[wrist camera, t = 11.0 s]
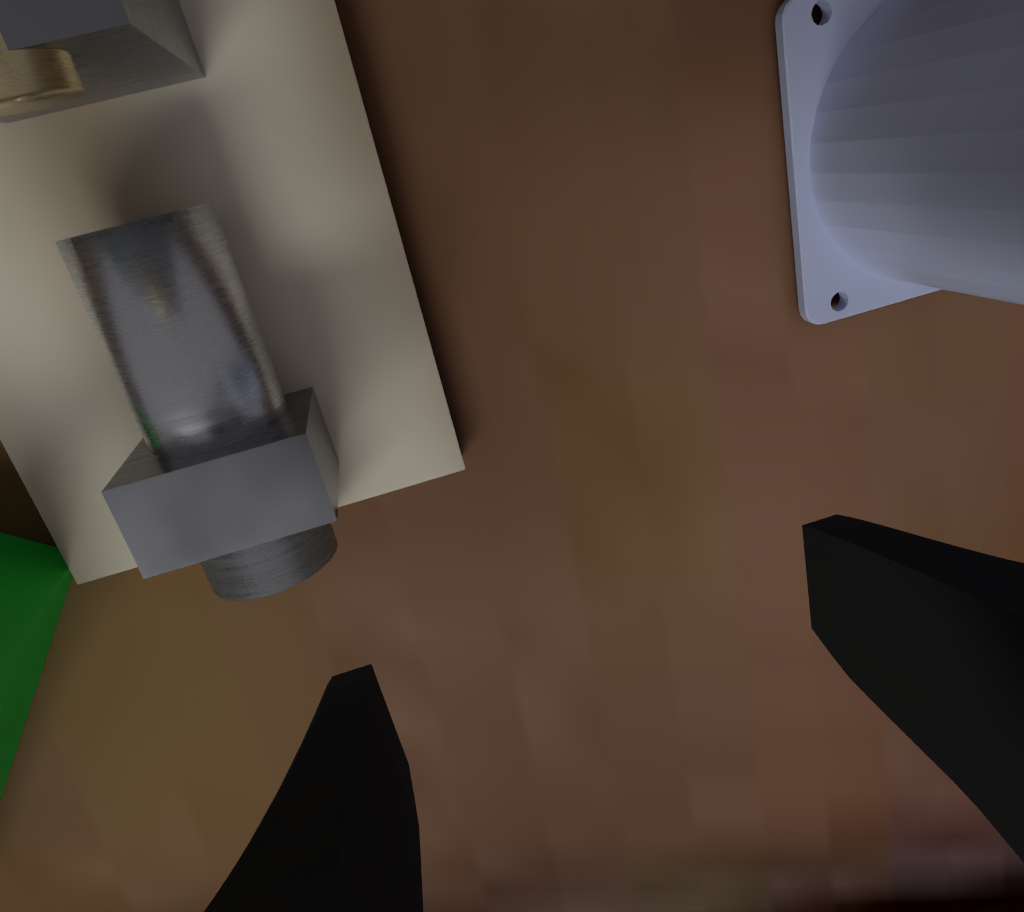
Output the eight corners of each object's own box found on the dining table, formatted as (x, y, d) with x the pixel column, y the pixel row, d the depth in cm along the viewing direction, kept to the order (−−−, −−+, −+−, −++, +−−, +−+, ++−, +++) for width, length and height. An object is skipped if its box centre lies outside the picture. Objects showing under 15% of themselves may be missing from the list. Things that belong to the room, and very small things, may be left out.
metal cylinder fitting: (60, 241, 16) (-14, 258, 13) (246, 194, 17) (221, 199, 13) (202, 558, 19) (173, 638, 16) (356, 512, 20) (359, 581, 16)
